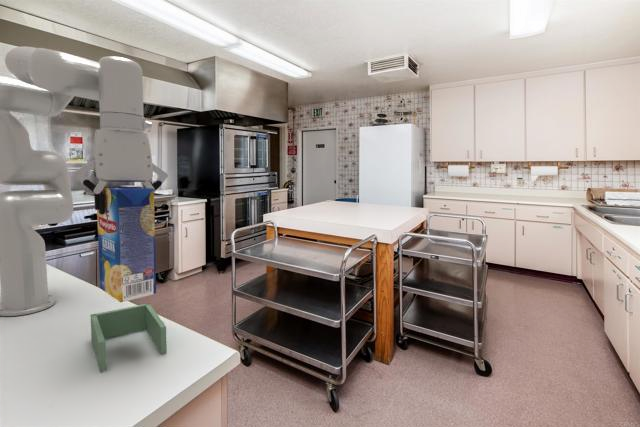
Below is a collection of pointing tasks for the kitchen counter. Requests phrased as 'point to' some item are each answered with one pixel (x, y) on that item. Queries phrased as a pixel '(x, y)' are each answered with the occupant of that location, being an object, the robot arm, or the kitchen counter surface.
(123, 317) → the mount bracket
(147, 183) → the robot arm
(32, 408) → the kitchen counter surface
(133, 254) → the beverage box
